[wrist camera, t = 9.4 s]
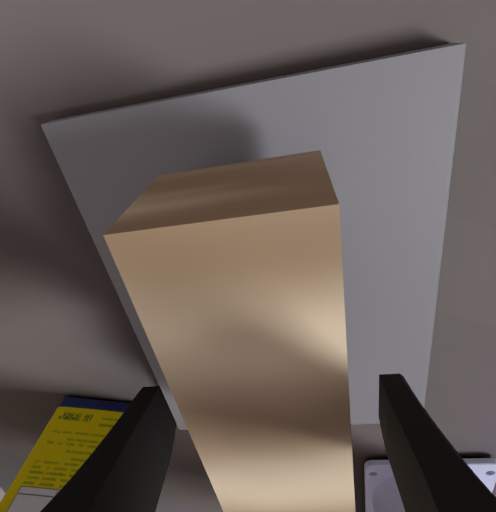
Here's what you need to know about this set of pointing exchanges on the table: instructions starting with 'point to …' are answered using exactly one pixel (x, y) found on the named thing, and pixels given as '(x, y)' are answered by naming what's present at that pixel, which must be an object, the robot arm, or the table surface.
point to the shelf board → (249, 325)
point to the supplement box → (61, 451)
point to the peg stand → (341, 174)
